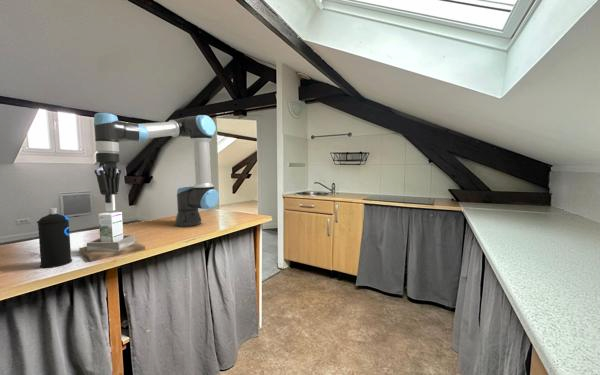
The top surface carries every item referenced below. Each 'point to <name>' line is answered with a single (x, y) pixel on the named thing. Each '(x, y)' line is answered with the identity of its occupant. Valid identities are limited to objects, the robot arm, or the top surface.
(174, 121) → the robot arm
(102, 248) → the socket holder
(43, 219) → the aerosol can
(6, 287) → the top surface
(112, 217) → the syrup box
